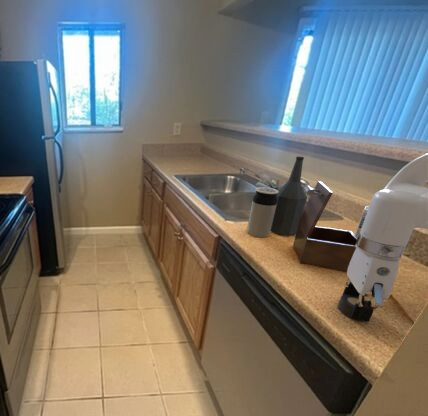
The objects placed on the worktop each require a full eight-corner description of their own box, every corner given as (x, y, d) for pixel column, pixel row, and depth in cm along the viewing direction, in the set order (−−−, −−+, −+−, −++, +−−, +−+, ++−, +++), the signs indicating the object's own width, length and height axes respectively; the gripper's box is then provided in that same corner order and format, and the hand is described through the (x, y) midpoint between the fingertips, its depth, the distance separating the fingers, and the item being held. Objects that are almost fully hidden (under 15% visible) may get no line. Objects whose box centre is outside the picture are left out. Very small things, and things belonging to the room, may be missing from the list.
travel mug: (268, 239, 103) (279, 194, 97) (245, 234, 107) (254, 191, 101) (269, 231, 110) (279, 188, 103) (247, 227, 114) (255, 185, 107)
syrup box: (350, 246, 98) (363, 209, 92) (352, 241, 101) (365, 204, 96) (371, 252, 94) (387, 213, 88) (373, 247, 97) (388, 209, 92)
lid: (321, 181, 89) (304, 177, 90) (333, 192, 78) (313, 188, 80) (300, 223, 95) (284, 218, 97) (308, 238, 85) (291, 233, 86)
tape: (363, 307, 69) (367, 297, 68) (374, 324, 64) (378, 313, 63) (334, 301, 71) (337, 291, 70) (342, 316, 66) (345, 306, 65)
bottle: (282, 224, 116) (300, 153, 105) (303, 235, 107) (324, 158, 96) (261, 227, 114) (277, 155, 103) (280, 237, 105) (300, 159, 94)
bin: (343, 254, 93) (351, 230, 90) (357, 274, 82) (367, 248, 79) (292, 246, 99) (298, 223, 96) (299, 263, 88) (306, 239, 85)
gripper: (425, 269, 52) (391, 341, 59) (383, 232, 67) (359, 293, 73) (374, 261, 55) (347, 330, 61) (344, 227, 70) (325, 286, 76)
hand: (354, 309), depth 67 cm, fingers closed on tape, 6 cm apart
